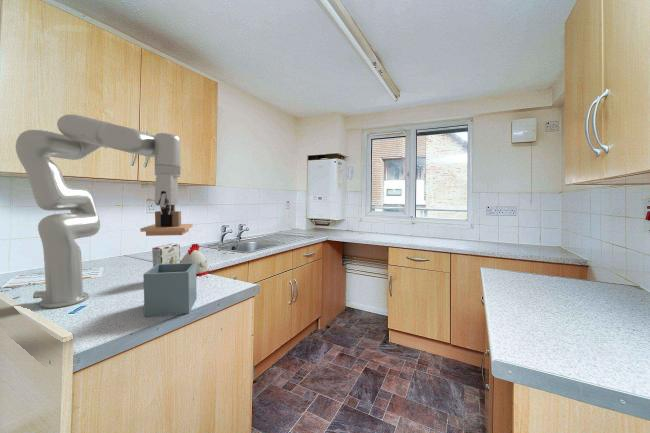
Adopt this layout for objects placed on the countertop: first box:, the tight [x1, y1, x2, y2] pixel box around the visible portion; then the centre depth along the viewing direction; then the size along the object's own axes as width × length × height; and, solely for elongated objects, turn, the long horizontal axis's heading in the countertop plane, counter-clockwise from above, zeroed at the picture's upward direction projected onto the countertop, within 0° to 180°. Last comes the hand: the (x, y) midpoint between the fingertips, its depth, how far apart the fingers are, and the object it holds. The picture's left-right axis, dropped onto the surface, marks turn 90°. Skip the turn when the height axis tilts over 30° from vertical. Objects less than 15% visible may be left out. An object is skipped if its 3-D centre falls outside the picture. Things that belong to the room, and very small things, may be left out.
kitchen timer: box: [180, 243, 210, 278], centre depth 134 cm, size 14×14×15 cm
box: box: [143, 263, 197, 318], centre depth 93 cm, size 13×13×14 cm
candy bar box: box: [151, 243, 181, 268], centre depth 121 cm, size 11×5×16 cm, turn 168°
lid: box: [140, 210, 194, 237], centre depth 91 cm, size 13×13×8 cm
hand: (168, 225), depth 91 cm, fingers closed on lid, 3 cm apart
